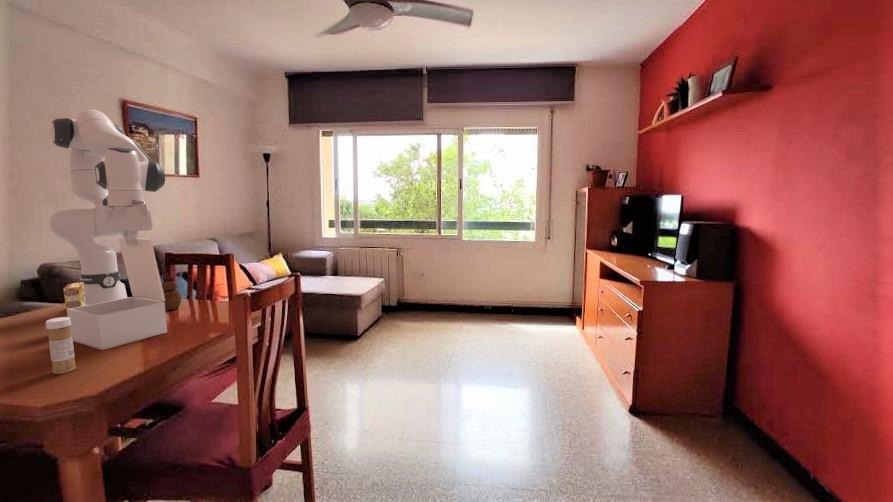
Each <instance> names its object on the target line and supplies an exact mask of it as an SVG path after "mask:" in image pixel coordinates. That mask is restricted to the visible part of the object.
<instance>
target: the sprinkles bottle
mask: <svg viewBox="0 0 893 502" xmlns="http://www.w3.org/2000/svg"><path fill="white" fill-rule="evenodd" d="M45 327H46V330H47V334H48V335H47V336H48V343H49V353H50V354H49V355H50V360H51V364H52V374H55V375H61V374H67V373H70V372H73V371H75V370H76V369H77V366H76V360H75V350H74V349H75V348H74V341H73V340H72V335H71V328H70V327H71V321H70V318H69V317H67V316H61V317H54V318H50V319H48V320H46V321H45Z"/></svg>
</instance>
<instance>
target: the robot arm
mask: <svg viewBox="0 0 893 502" xmlns="http://www.w3.org/2000/svg"><path fill="white" fill-rule="evenodd" d="M48 132H49V133H48V134H49V136H50V139H51V140H52V142H53V144H54V145H56V146H57V147H59V148H64V149H70V153H69V175H70V183H71V191H72V193H73V194H74V195H75V196H76V197H78V198H79V199H83V200H85V201H88V202H90V203H92V204H93V205H94V206H95V207H94V208H69V209H64V210H58V211H55V212H54V213H52V214H51V216H50V218H49V223H48V225H49V229H50V231H51V232H52V233H53V234H54V235H55V236H57V237H58V238H61V239H62V240H64V241H66V242H67V243H69V245H71V246H72V247H73V248H74V250H75V251H76V253H77V255H78V259H79V262H80V268H81V269H80V270H81V274H80V278H79V280H80V281H79V283H82V282H83V283H84V292H85V299H86V306H87V305H92V304H97V303H102V302H108V301H113V300H118V299H123V298H128V294H127V290H126V285H125V283H123V282H121V273H120V270H119V267H118V260H117V253H116V251H115V250H114V249H113V248H111V247H108V246H105V245H102V244H99V243H97V242H96V241H95V240H94V239H95V238H100V237H101V238H104V237H105V238H106V237H120V236H123V237H124V239H125V244H126V245H136V244H137V242H136V239H137V238H138V235H139V232H146V231H152V229H153V228H154V227H153V219H152V215H151V210H150V208H149V207H148V206H147V204H146V203H145V199H144V198H145V196H144V192H154V193H156V192H157V191H159V190H160V189H161V188H163V186H164V185H165V183H166V175H165V171H164V169H163V167H162V166H161V165H160V164H159V163H158V162H157V161H155V160H153V159H152V158H151V157H150V156H149V155H148V153H147V152H146V151H145V150H144V149H143V148H142V147H141V146H140V144H139V143H138V142H137V141H136V140H134V139H132V138H130V137H129V136H126V133H125V130H124V129H123V127H122V126H120V125H118V124H115V123H114V122H113V121H112V120H111V118H109V117H108V115H106V113H104V112H103V111H100V110H99V109H98V110H97V109H94V108H93V109H84V110H82V111H81V112H79V113H78V115H77V117H76V118H69V117H62V118H55V119H54V120H52V121H51V123H50V126H49V128H48Z"/></svg>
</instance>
